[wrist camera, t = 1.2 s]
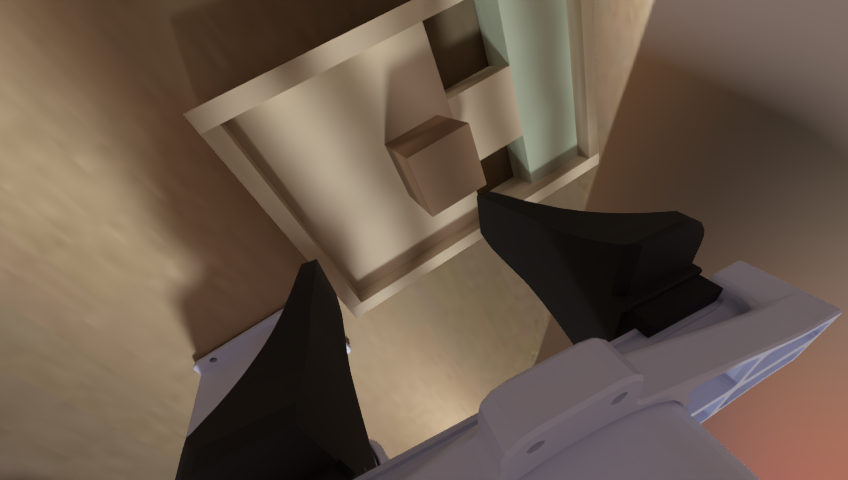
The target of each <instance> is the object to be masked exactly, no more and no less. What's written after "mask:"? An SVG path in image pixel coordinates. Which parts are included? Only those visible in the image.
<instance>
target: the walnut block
mask: <svg viewBox="0 0 848 480" xmlns="http://www.w3.org/2000/svg"><path fill="white" fill-rule="evenodd" d="M385 147H386V149H387V151H388V153H389V155H390V157H391V159H392V161H393V163H394V165H395V167H396V169H397V172H398V174H399V176H400V178H401V180H402V182H403V184H404V186H405V188H406V190H407V192H408V194H409V196H410V197H411V198H412V199H413V200H414V201H415V202H417V203H418V204H419V205H420V206H421V207H422V208H423V209H424V210H425V211H426V212H428V213H429V214H430V215H431V216H432V217H434V216H436V215H437V214H439V213H441V212H442V211H444V210H445V209H447V208H449V207H450V206H452V205H454V204H455V203H457V202H459V201H460V200H462V199H463V198H465V197H467V196H468V195H470V194H472V193H473V192H475V191H477V190H478V189H480V188H481V187H483V186H485V185H486V184H487V183H486V180H485V176H484V173H483V170H482V166H481V163H480V159H479V156H478V152H477V149H476V146H475V142H474V139H473V135H472V132H471V128H470V125H469V123H467V122H463V121H459V120H455V119H451V118H447V117H444V116H440V115H436V116H434V117H433V118H431V119H429V120H427V121H425V122H424V123H422V124H420V125H418V126H417V127H415V128H413V129H411V130H409V131H408V132H406V133H404V134H402V135H401V136H399V137H397V138H395V139H393V140H392V141H390V142H388V143H386V144H385Z"/></svg>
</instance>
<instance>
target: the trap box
mask: <svg viewBox="0 0 848 480" xmlns="http://www.w3.org/2000/svg"><path fill="white" fill-rule="evenodd" d="M461 1H463V0H411V1H409V2H407V3H405V4H403V5H401V6H399V7H397V8H395V9H393V10H391V11H389V12H387V13H385V14H383V15H381V16H379V17H377V18H375V19H373V20H371V21H369V22H367V23H365V24H363V25H361V26H359V27H357V28H355V29H353V30H351V31H349V32H347V33H345V34H343V35H341V36H339V37H336V38H334V39H332V40H330V41H328V42H326V43H324V44H322V45H320V46H318V47H316V48H314V49H312V50H310V51H308V52H306V53H304V54H302V55H300V56H298V57H296V58H294V59H292V60H290V61H288V62H286V63H284V64H282V65H280V66H278V67H276V68H274V69H272V70H270V71H268V72H266V73H264V74H262V75H260V76H258V77H256V78H254V79H252V80H250V81H248V82H246V83H244V84H242V85H240V86H238V87H236V88H234V89H232V90H230V91H228V92H226V93H224V94H222V95H220V96H218V97H216V98H214V99H212V100H210V101H208V102H206V103H204V104H202V105H200V106H198V107H196V108H194V109H192V110H190V111H188V112H186V113H184V114H183V115H184V116H185V118H186V119H187V120H188V121H189V122H190V123H191V125H192V126H193V127H194V128H195V129H196V130H197V132H198V133H199V134H200V135H201V136H202V138H203V139H204V140H205V141H206V142H207V143H208V145H209V146H210V147H211V148H212V149H213V150H214V152H215V153H216V154H217V155H218V156H219V157H220V159H221V160H222V161H223V162H224V163H225V164H226V166H227V167H228V168H229V169H230V170H231V172H232V173H233V174H234V175H235V176H236V177H237V179H238V180H239V181H240V182H241V183H242V184H243V186H244V187H245V188H246V189H247V190H248V191H249V193H250V194H251V195H252V196H253V197H254V198H255V200H256V201H257V202H258V203H259V204H260V206H261V207H262V208H263V209H264V210H265V211H266V213H267V214H268V215H269V216H270V217H271V218H272V220H273V221H274V222H275V223H276V224H277V225H278V227H279V228H280V229H281V230H282V231H283V233H284V234H285V235H286V236H287V237H288V238H289V240H290V241H291V242H292V243H293V244H294V245H295V247H296V248H297V249H298V250H299V251H300V252H301V254H302V255H303V256H304V257H305V258H306V259H307V261H308V262H310V261H312V260H315V259H317V260H318V262H319V264H320V266H321V267H322V269H323V271H324V273H325V275H326V276H327V278H328V280H329V282H330V283H331V285H332V287H333V289H334V291H335V292H336V295H337V296H338V297H339V298H340V299H341V301H342V302H343V303H344V304H345V305H346V306H347V308H348V309H349V310H350V311H351V312H352V313H353V315H354V316H355V317H356V318H358V317H359V316H361V315H362V314H364V313H365V312H367V311H368V310H370V309H372V308H373V307H375V306H376V305H378V304H379V303H381V302H383V301H384V300H386V299H387V298H389V297H390V296H392V295H394V294H395V293H397V292H398V291H400V290H401V289H403V288H405V287H406V286H408V285H409V284H411V283H412V282H414V281H415V280H417V279H419V278H420V277H422V276H423V275H425V274H426V273H428V272H430V271H431V270H433V269H434V268H436V267H437V266H439V265H441V264H442V263H444V262H445V261H447V260H448V259H450V258H451V257H453V256H455V255H456V254H458V253H459V252H461V251H462V250H464V249H466V248H467V247H469V246H470V245H472V244H473V243H475V242H477V241H478V240H480V239H481V238H483V236H482V234H481V233H480V224H479V214H478V205H477V196H478V194H477V191H475V192H473V193H472V194H470V195H468V196H467V197H465V198H463V199H462V200H460V201H459V202H457V203H455V204H454V205H452V206H450V207H449V208H447V209H445V210H444V211H442V212H441V213H439V214H437V215H436V216H434V217H432V216H431V215H430V214H429V213H428V212H426V211H425V210H424V209H423V208H422V207H421V206H420V205H419V204H418V203H417V202H415V201H414V200H413V199H412V198H411V197H410V196H409V194H408V192H407V190H406V188H405V186H404V184H403V182H402V180H401V178H400V176H399V174H398V172H397V169H396V167H395V165H394V163H393V161H392V159H391V157H390V155H389V153H388V151H387V149H386V147H385V144H386V143H388V142H390V141H392V140H393V139H395V138H397V137H399V136H401V135H402V134H404V133H406V132H408V131H409V130H411V129H413V128H415V127H417V126H418V125H420V124H422V123H424V122H425V121H427V120H429V119H431V118H433V117H434V116H436V115H440V116H444V117H447V118H451V119H455V120H459V121H463V122H467V123H469V125H470V128H471V132H472V135H473V139H474V142H475V146H476V149H477V152H478V156H479V159H480V160H482V159H484V158H485V157H487V156H489V155H490V154H492V153H494V152H495V151H497V150H499V149H500V148H502V147H504V146H505V145H507V150H508V154H509V159H510V163H511V167H512V172H513V177H512V178H510V179H508V180H507V181H505V182H503V183H502V184H500V185H499V186H497V187H495V188H494V189H492V190H490V192H495V193H499V194H503V195H507V196H511V197H514V198H518V199H522V200H525V201H529V202H533V203H538V202H539V201H541V200H542V199H544V198H545V197H547V196H549V195H550V194H552V193H553V192H555V191H556V190H558V189H560V188H561V187H563V186H564V185H566V184H567V183H569V182H570V181H572V180H574V179H575V178H577V177H578V176H580V175H581V174H583V173H585V172H586V171H588V170H589V169H591V168H592V167H594V166H596V165H597V164H599V149H598V118H597V88H596V57H595V27H594V0H474V4H475V8H476V13H477V17H478V22H479V26H480V30H481V35H482V39H483V44H484V48H485V52H486V57H487V61H488V67H486V68H484V69H482V70H481V71H479V72H477V73H475V74H473V75H472V76H470V77H468V78H466V79H464V80H463V81H461V82H459V83H457V84H455V85H453V86H452V87H450V88H448V89H446V90H444V88H443V84H442V81H441V78H440V75H439V72H438V69H437V66H436V63H435V59H434V56H433V53H432V50H431V47H430V44H429V41H428V38H427V34H426V31H425V28H424V25H423V22H422V21H423V20H425V19H427V18H429V17H431V16H433V15H435V14H437V13H439V12H441V11H443V10H445V9H447V8H449V7H451V6H453V5H455V4H457V3H459V2H461Z"/></svg>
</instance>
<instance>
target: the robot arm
mask: <svg viewBox="0 0 848 480" xmlns="http://www.w3.org/2000/svg"><path fill="white" fill-rule="evenodd" d="M477 205H478V214H479V224H480V233H481V234H482V236H483V237H484V238H485V240H486V241H487V243H488V244H489V245H490V246H491V248H492V249H493V250H494V251H495V252H496V253H497V254H498V255H499V256H500V257H501V258H502V259H503V260H504V261H505V262H506V263H507V264H508V265H509V266H510V267H511V268H512V269H513V270H514V271H515V272H516V273H517V274H518V275H519V276H520V277H521V278H522V279H523V280H524V281H525V282H526V283H527V284H528V285H529V286H530V287H531V289H532V290H533V291H534V292H535V294H536V295H537V296H538V297H539V299H540V300H541V301H542V302H543V304H544V305H545V306H546V307H547V309H548V310H549V311H550V313H551V314H552V315H553V317H554V318H555V319H556V321H557V322H558V323H559V325H560V326H561V327H562V329H563V330H564V332H565V333H566V335H567V336H568V337H569V339H570V340H571V342H572V343H573V346H571V347H570V348H568V349H566V350H564V351H562V352H560V353H558V354H556V355H554V356H552V357H550V358H548V359H546V360H545V361H543V362H541V363H539V364H537V365H535V366H533V367H531V368H529V369H527V370H525V371H524V372H522V373H520V374H518V375H516V376H514V377H512V378H510V379H508V380H506V381H505V382H504V383H502V384H501V385H499V386H498V387H496V388H495V389H493V390H492V391H491V392H490V393H489V394H488V395H487V396H486V398H485V399H484V400H483V401H482V402H481V404H480V408H479V412H478V413H476V414H475V415H473V416H471V417H469V418H467V419H465V420H463V421H461V422H460V423H458V424H456V425H454V426H452V427H450V428H448V429H447V430H445V431H443V432H441V433H439V434H437V435H435V436H433V437H432V438H430V439H428V440H426V441H424V442H422V443H420V444H419V445H417V446H415V447H413V448H411V449H409V450H407V451H405V452H404V453H402V454H400V455H398V456H396V457H394V458H392V459H391V460H389V458H388V456H387V455H386V453H385V451H384V449H383V448H382V446H381V445H380V444H379V443H378V442H377V441H375V440H372V439H368V435H367V432H366V428H365V425H364V421H363V418H362V414H361V410H360V407H359V403H358V399H357V395H356V392H355V388H354V384H353V380H352V376H351V372H350V366H349V361H348V354H349V353H350V351H351V348H350V346H349V345H348V344H347V342H346V339H345V332H344V325H343V318H342V313H341V309H340V305H339V302H338V298H337V295H336V292H335V291H334V289H333V287H332V285H331V283H330V282H329V280H328V278H327V276H326V275H325V273H324V271H323V269H322V267H321V266H320V264H319V262H318V260H317V259H315V260H312V261H310V262H307V263H305V264H302V265H301V267H300V269H299V272H298V275H297V277H296V280H295V283H294V285H293V288H292V291H291V293H290V295H289V298H288V300H287V302H286V305H285V307H284V308H283V309H281V310H279V311H278V312H276V313H275V314H273V315H271V316H270V317H268V318H266V319H265V320H263V321H261V322H260V323H258V324H257V325H255V326H253V327H252V328H250V329H248V330H247V331H245V332H243V333H242V334H240V335H239V336H237V337H235V338H234V339H232V340H230V341H229V342H227V343H226V344H224V345H222V346H221V347H219V348H217V349H216V350H214V351H212V352H211V353H209V354H208V355H206V356H204V357H203V358H201V359H199V360H198V361H196V362H195V364H194V366H193V370H194V371H196V372H197V373H199V374H201V379H200V383H199V387H198V391H197V395H196V399H195V404H194V408H193V412H192V416H191V420H190V424H189V428H188V432H187V436H186V440H185V443H184V447H183V450H182V454H181V458H180V462H179V466H178V470H177V474H176V479H175V480H760V479H759V478H758V477H757V476H756V475H755V474H754V473H753V472H752V471H751V470H749V469H748V468H747V467H746V466H745V465H744V464H743V463H742V462H741V461H740V460H739V459H737V458H736V457H735V456H734V455H733V454H732V453H731V452H730V451H729V450H728V449H727V448H725V446H723V445H722V444H721V443H720V442H719V441H718V440H717V439H716V438H715V437H714V436H713V435H712V434H710V433H709V432H708V431H707V430H706V429H705V428H704V427H703V426H702V425H701V423H702V422H704V421H705V420H706V419H708V418H709V417H711V416H712V415H713V414H715V413H716V412H718V411H719V410H720V409H722V408H723V407H725V406H726V405H728V404H729V403H730V402H732V401H733V400H734V399H736V398H737V397H739V396H740V395H742V394H743V393H744V392H746V391H747V390H749V389H750V388H752V387H753V386H755V385H756V384H758V383H759V382H760V381H762V380H763V379H765V378H766V377H768V376H769V375H771V374H772V373H774V372H775V371H777V370H779V369H780V368H782V367H783V366H785V365H786V364H788V363H789V362H791V361H792V360H794V359H795V358H796V357H797V356H798V355H799V354H800V353H801V352H802V351H803V350H804V349H805V348H806V347H808V345H809V344H811V342H813V341H814V340H815V339H816V338H817V337H818V336H819V335H820V334H821V333H822V332H823V331H824V330H825V329H826V328H827V327H828V326H829V325H830V324H831V323H832V322H833V321H834V320H835V319H836V318H837V317H838V316H839V315H840V314H841V313H842V311H841V309H840V308H838V307H836V306H834V305H831V304H830V303H828V302H826V301H823V300H821V299H819V298H817V297H815V296H813V295H811V294H809V293H807V292H805V291H803V290H801V289H799V288H797V287H794V286H792V285H790V284H788V283H786V282H784V281H782V280H780V279H778V278H776V277H774V276H772V275H770V274H768V273H766V272H764V271H762V270H759V269H757V268H755V267H753V266H751V265H749V264H747V263H745V262H743V261H738V262H736V263H734V264H732V265H730V266H728V267H726V268H724V269H722V270H720V271H718V272H717V273H716V274H714V275H713V276H712V277H711V278H710V279H709V280H708V279H706V278H704V277H703V276H701V275H699V274H700V273H701V272H702V270H701V268H700V267H698V266H696V265H694V264H692V262H693V259H694V257H695V255H696V253H697V251H698V249H699V247H700V244H701V242H702V239H703V236H704V227H703V224H702V223H701V222H699V221H698V220H695V219H693V218H691V217H689V216H686V215H684V214H682V213H680V212H677V211H669V212H653V213H599V212H586V211H577V210H569V209H562V208H556V207H552V206H547V205H542V204H538V203H533V202H529V201H525V200H522V199H518V198H514V197H511V196H507V195H503V194H499V193H495V192H490V191H488V192H485V193H483V194H480V195H478V196H477ZM211 358H216V359H211Z"/></svg>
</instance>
